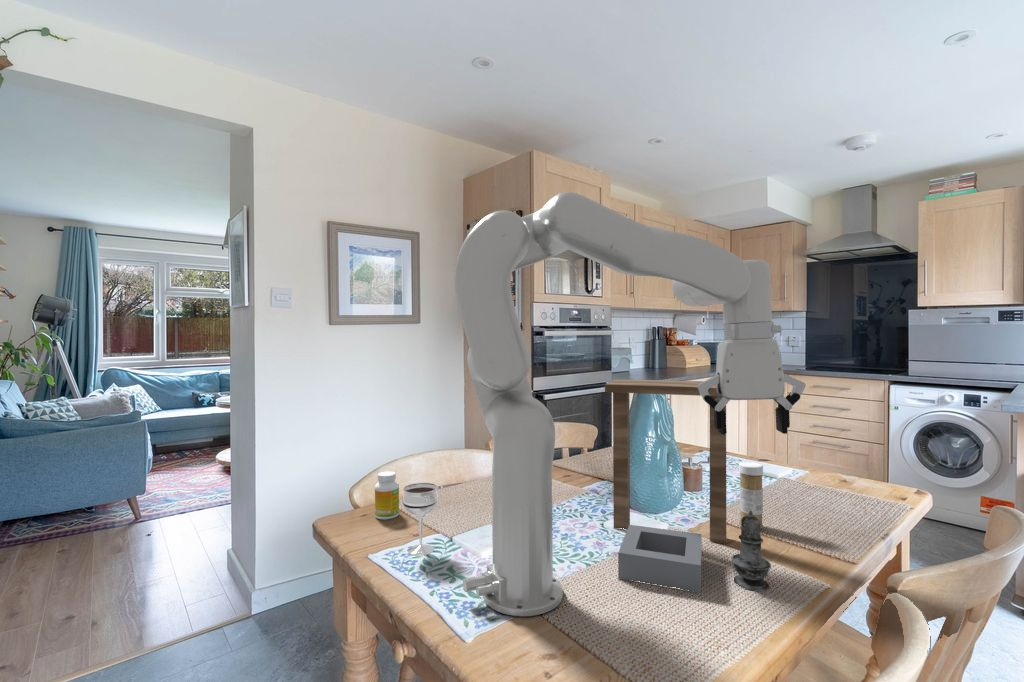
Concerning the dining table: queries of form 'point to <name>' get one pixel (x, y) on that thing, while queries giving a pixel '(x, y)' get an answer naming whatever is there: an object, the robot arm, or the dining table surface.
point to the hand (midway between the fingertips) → (751, 432)
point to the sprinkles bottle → (751, 490)
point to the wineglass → (420, 509)
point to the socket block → (661, 557)
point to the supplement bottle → (386, 496)
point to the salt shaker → (751, 557)
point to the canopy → (622, 450)
